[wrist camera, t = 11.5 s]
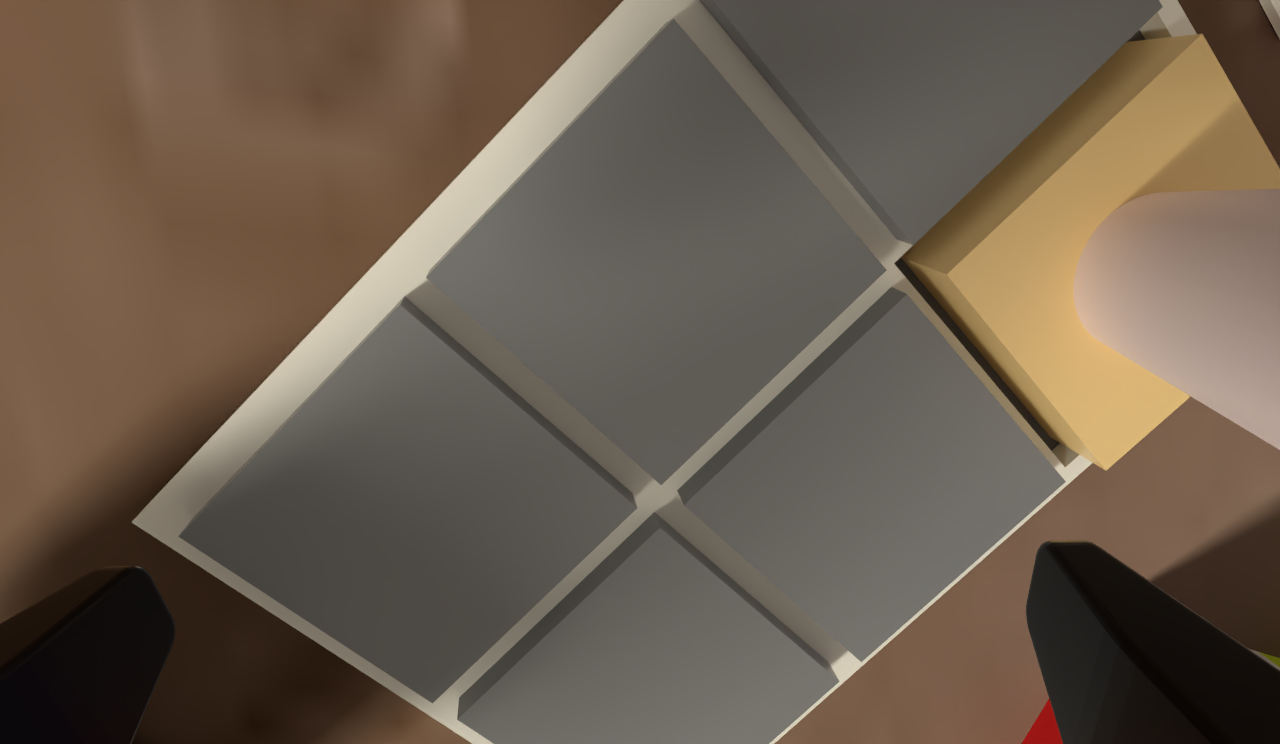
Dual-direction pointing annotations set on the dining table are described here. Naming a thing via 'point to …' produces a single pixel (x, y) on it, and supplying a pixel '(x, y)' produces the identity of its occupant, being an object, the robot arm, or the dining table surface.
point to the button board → (662, 380)
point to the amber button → (1086, 233)
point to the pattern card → (1272, 13)
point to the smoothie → (1193, 296)
